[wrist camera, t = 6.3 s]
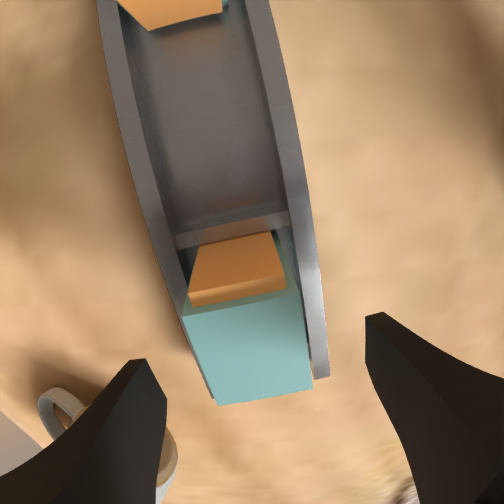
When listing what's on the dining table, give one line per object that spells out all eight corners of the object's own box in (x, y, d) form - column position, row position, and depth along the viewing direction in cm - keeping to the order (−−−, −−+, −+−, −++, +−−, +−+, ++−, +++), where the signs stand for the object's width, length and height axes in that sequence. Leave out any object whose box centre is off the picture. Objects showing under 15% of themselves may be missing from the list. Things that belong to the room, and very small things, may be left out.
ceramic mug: (189, 412, 19) (177, 513, 12) (164, 463, 22) (153, 541, 15) (42, 357, 17) (-8, 440, 10) (47, 420, 20) (16, 489, 13)
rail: (236, -70, 9) (237, -100, 6) (318, 343, 17) (330, 375, 15) (110, -38, 9) (90, -61, 7) (213, 364, 18) (212, 398, 15)
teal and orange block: (274, 221, 13) (297, 277, 9) (291, 312, 15) (312, 388, 10) (194, 239, 13) (175, 302, 9) (220, 326, 15) (218, 405, 11)
